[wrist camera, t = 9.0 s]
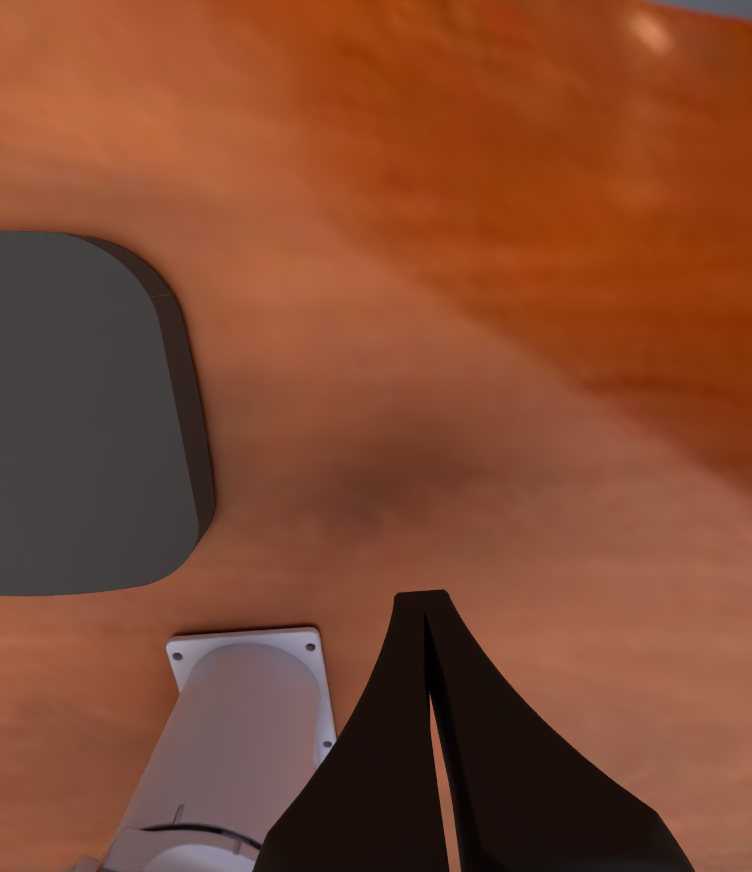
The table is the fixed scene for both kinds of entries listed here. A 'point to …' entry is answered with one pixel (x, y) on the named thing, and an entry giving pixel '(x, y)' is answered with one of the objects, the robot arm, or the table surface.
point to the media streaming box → (94, 421)
